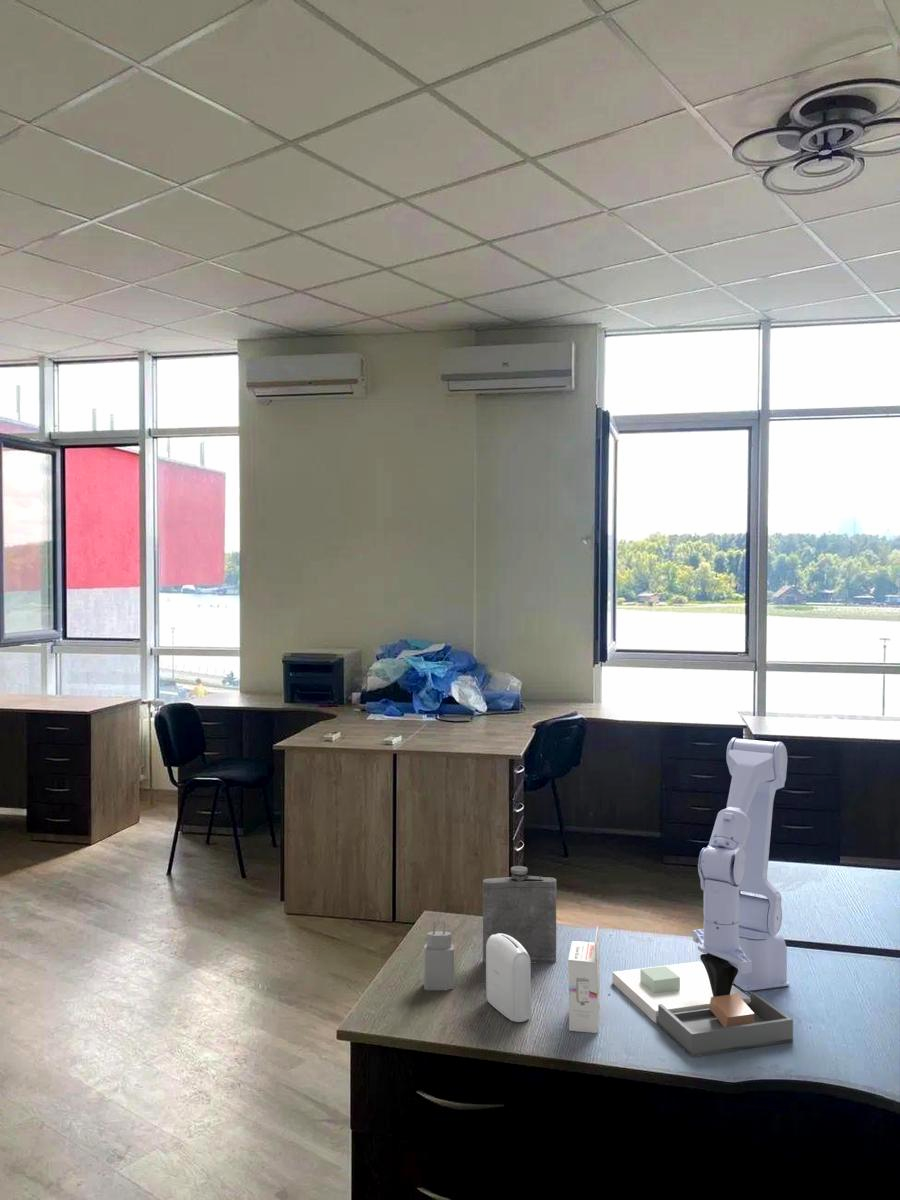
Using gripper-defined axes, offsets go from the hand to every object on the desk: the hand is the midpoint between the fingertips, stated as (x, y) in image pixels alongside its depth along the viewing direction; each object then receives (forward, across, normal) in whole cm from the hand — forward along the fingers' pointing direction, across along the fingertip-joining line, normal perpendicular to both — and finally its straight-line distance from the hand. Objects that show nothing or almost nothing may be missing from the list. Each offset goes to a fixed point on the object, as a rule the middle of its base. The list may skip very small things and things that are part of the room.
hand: (721, 999), depth 149 cm
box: (+3, +5, -3) cm, 7 cm away
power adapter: (+3, -24, -43) cm, 49 cm away
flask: (+3, -30, -25) cm, 40 cm away
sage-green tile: (+1, -9, -6) cm, 11 cm away
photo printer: (+3, -12, -34) cm, 36 cm away
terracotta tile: (+2, +3, 0) cm, 3 cm away
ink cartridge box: (+3, -4, -23) cm, 24 cm away
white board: (+3, -8, -3) cm, 9 cm away
